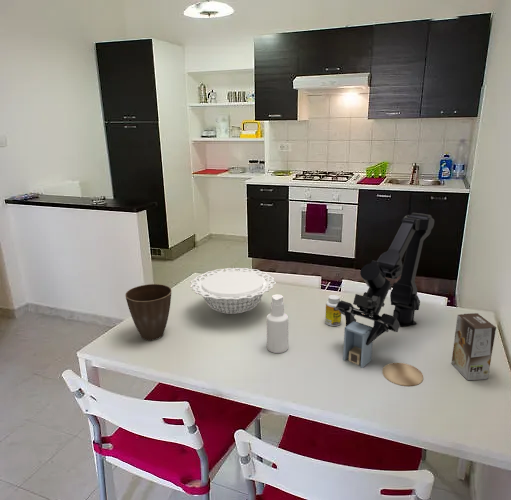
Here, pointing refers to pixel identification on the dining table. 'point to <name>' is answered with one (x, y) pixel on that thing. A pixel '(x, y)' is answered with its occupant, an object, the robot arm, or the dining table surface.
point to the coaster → (402, 374)
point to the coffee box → (473, 346)
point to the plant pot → (149, 309)
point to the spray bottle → (277, 326)
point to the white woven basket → (232, 288)
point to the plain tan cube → (355, 355)
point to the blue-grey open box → (358, 341)
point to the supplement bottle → (332, 311)
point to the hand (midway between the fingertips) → (356, 341)
